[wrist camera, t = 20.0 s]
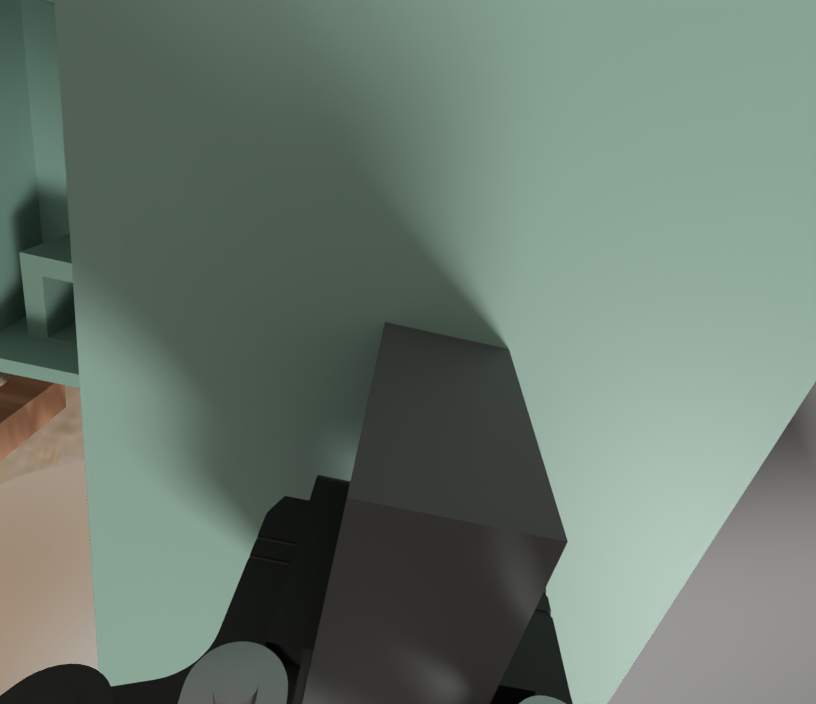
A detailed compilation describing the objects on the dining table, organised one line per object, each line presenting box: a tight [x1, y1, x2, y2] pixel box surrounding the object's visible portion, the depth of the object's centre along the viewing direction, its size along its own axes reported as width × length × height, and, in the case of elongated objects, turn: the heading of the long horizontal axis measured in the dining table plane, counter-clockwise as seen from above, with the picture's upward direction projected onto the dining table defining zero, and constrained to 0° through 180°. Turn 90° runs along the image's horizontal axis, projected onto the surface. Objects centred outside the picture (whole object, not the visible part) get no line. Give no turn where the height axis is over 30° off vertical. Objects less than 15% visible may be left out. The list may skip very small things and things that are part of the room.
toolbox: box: [0, 0, 80, 388], centre depth 32 cm, size 22×13×9 cm, turn 168°
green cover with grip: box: [54, 0, 816, 704], centre depth 11 cm, size 23×14×6 cm, turn 168°
